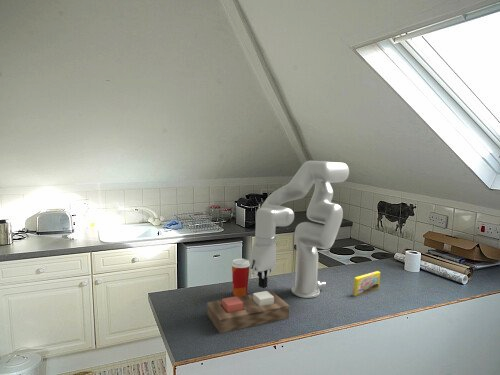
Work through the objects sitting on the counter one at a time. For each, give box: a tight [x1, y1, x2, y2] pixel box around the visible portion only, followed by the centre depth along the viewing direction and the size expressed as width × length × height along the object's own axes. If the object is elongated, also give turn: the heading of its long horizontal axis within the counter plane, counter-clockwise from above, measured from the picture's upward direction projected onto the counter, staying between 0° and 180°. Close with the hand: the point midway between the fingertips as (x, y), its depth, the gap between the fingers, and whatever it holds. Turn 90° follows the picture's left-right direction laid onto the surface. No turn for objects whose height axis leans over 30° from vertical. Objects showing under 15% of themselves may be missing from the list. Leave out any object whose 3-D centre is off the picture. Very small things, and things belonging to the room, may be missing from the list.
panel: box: [206, 290, 290, 334], centre depth 139 cm, size 28×14×5 cm, turn 115°
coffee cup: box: [230, 258, 250, 297], centre depth 157 cm, size 8×8×15 cm
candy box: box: [352, 270, 382, 297], centre depth 163 cm, size 16×2×8 cm, turn 124°
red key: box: [221, 296, 243, 313], centre depth 135 cm, size 6×6×3 cm
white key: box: [252, 290, 274, 307], centre depth 141 cm, size 6×6×3 cm
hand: (262, 286), depth 140 cm, fingers closed
